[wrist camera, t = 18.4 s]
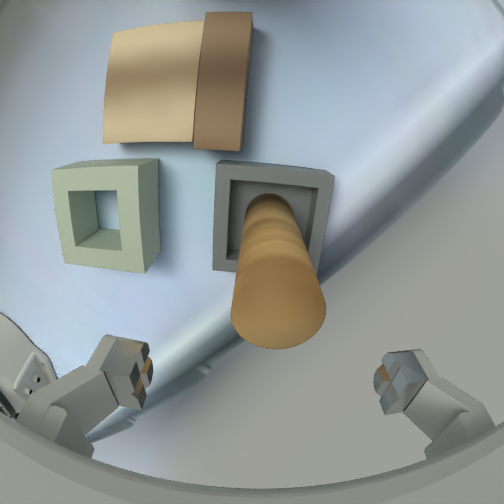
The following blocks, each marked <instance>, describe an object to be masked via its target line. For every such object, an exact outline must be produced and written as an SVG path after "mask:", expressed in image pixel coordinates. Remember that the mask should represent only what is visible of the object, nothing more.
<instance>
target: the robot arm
mask: <svg viewBox="0 0 504 504" xmlns="http://www.w3.org/2000/svg"><path fill="white" fill-rule="evenodd" d="M149 351H150V350H149V346H148V343H146V342H141V341H136V340H131V339H127V338H122V337H116V336H112V335H108V334H106V335H105V336H103V338H102V339H101V341H100V343H99V344H98V346H97V348H96V349H95V351H94V353H93V354H92V356H91V358H90V360H89V361H88V363H87V365H86V366H80V367H79V368H77V369H75V370H73V371H71V372H70V373H68V374H66V375H64V376H62V377H60V378H59V379H57V378H56V376H55V373H54V370H53V368H52V365H51V363H50V360H49V358H48V357H47V356H46V355H45V354H44V353H43V352H42V351H40V350H39V349H38V348H37V347H35V346H34V345H33V344H32V343H31V342H30V340H29V339H28V338H27V337H26V336H25V335H24V333H23V332H22V331H21V330H20V329H19V328H18V327H17V326H16V325H15V324H14V323H13V322H11V321H10V320H9V319H8V318H6V317H5V316H4V315H2V314H0V504H504V422H502V423H501V424H499V425H497V426H495V424H494V423H493V421H492V419H491V417H490V415H489V413H488V412H487V410H486V408H485V406H484V404H483V403H482V402H480V401H478V400H477V399H475V398H474V397H472V396H471V395H469V394H468V393H466V392H464V391H463V390H461V389H459V388H458V387H457V386H455V385H454V384H452V383H451V382H449V381H447V380H446V379H444V378H443V377H442V378H440V377H439V376H438V374H437V372H436V371H435V369H434V367H433V366H432V364H431V363H430V361H429V359H428V358H427V356H426V355H425V353H424V351H423V350H421V349H416V350H409V351H408V350H407V351H398V352H388V353H387V354H385V355H384V357H383V359H382V362H383V365H381V366H380V367H379V368H378V369H377V370H376V372H375V375H374V381H373V382H374V388H375V391H376V393H378V394H379V395H380V396H381V399H380V404H381V406H382V409H383V412H384V414H385V415H388V414H394V413H399V412H403V413H404V414H405V415H406V416H407V417H408V418H409V419H410V420H411V421H412V422H413V423H414V424H415V425H416V426H417V427H418V428H419V429H420V430H422V431H423V432H424V433H425V434H426V435H427V436H428V437H429V438H430V439H431V440H432V442H431V443H430V444H429V445H428V446H427V447H426V448H425V450H424V453H425V455H426V458H427V459H426V460H423V461H420V462H418V463H415V464H412V465H409V466H406V467H402V468H400V469H396V470H393V471H389V472H385V473H381V474H378V475H373V476H370V477H365V478H360V479H355V480H350V481H344V482H339V483H332V484H325V485H317V486H307V487H295V488H276V489H246V488H226V487H214V486H204V485H196V484H189V483H182V482H177V481H171V480H165V479H161V478H156V477H152V476H147V475H143V474H139V473H136V472H132V471H128V470H125V469H122V468H118V467H115V466H112V465H109V464H105V463H103V462H100V461H97V460H94V459H92V454H93V451H94V447H93V445H92V444H91V443H90V442H89V441H88V439H87V438H86V437H85V436H84V435H86V434H87V433H88V432H89V431H90V430H92V429H93V428H94V427H95V426H96V425H98V424H99V423H100V422H101V421H103V420H104V419H105V418H106V417H107V416H108V415H110V414H111V413H112V412H113V411H114V410H116V409H117V408H118V407H119V406H123V407H128V408H133V409H137V410H142V408H143V405H144V402H145V399H146V396H147V395H146V392H145V388H147V387H148V386H150V384H151V380H152V375H153V364H152V360H151V359H150V358H149V357H148V354H149ZM118 405H119V406H118ZM16 413H20V414H19V416H18V418H17V420H16V421H14V420H12V419H11V418H12V417H13V416H14V415H16Z"/></svg>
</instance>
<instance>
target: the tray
mask: <svg viewBox="0 0 504 504" xmlns="http://www.w3.org/2000/svg"><path fill="white" fill-rule="evenodd" d="M334 178H335V176H334V175H333V174H331V173H329V172H328V171H326V170H320V169H312V168H305V167H297V166H288V165H279V164H269V163H258V162H245V161H231V160H220V161H219V162H218V163H217V164H216V178H215V200H214V228H213V270H216V271H228V272H237V266H238V259H239V252H240V246H241V239H242V232H243V226H244V219H245V213H246V208H247V206H248V204H249V203H250V202H251V200H252V199H254V198H255V197H256V196H258V195H261V194H264V193H273V194H277V195H280V196H281V197H283V198H284V199H285V200H286V201H287V202H288V203H289V205H290V207H291V209H292V212H293V214H294V217H295V219H296V222H297V225H298V227H299V230H300V233H301V235H302V238H303V241H304V243H305V246H306V249H307V251H308V254H309V257H310V260H311V262H312V265H313V268H314V271H315V274H316V275H317V271H318V266H319V261H320V257H321V252H322V247H323V242H324V236H325V231H326V226H327V220H328V215H329V209H330V203H331V197H332V191H333V184H334Z"/></svg>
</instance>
